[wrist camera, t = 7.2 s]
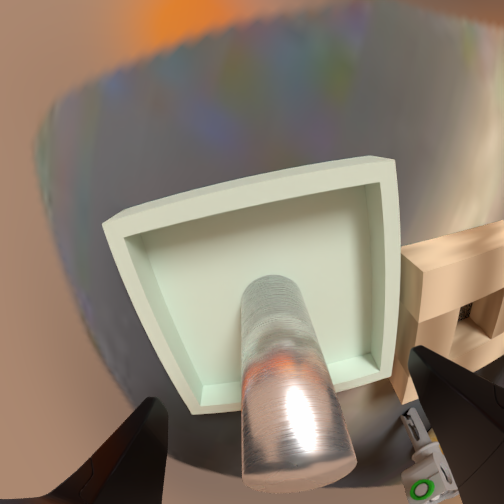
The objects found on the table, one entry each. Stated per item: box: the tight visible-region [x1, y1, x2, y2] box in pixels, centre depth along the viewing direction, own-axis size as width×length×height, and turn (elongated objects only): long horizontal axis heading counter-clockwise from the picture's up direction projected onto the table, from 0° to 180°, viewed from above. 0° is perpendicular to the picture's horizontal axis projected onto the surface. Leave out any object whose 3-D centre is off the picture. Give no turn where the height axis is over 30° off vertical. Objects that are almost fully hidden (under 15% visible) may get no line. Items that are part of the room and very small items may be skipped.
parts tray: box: [102, 156, 401, 415], centre depth 13 cm, size 12×12×2 cm
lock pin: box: [241, 275, 357, 493], centre depth 10 cm, size 3×3×9 cm
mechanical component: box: [400, 408, 459, 504], centre depth 15 cm, size 3×10×10 cm, turn 49°
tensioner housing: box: [388, 220, 504, 405], centre depth 14 cm, size 10×10×3 cm
